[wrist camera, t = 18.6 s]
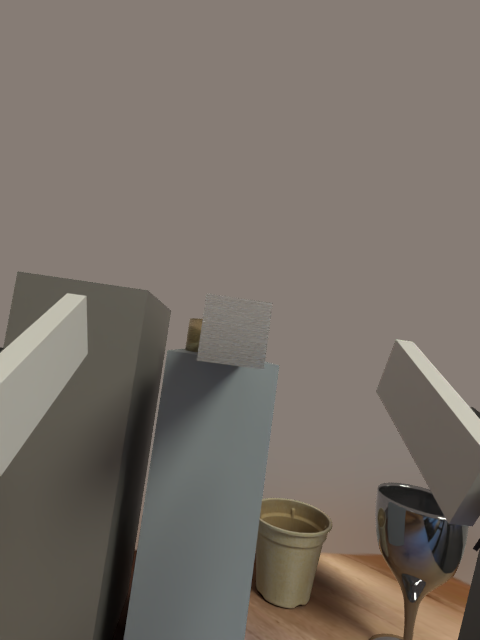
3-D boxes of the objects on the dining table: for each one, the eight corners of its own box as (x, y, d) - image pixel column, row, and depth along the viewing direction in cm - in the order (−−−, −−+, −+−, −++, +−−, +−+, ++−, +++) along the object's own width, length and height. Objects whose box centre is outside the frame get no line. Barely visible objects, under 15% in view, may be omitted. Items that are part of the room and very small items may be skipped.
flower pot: (236, 564, 47) (245, 494, 48) (307, 568, 48) (315, 500, 49) (249, 619, 38) (260, 530, 38) (337, 622, 39) (346, 536, 40)
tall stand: (-70, 737, 24) (17, 271, 26) (39, 585, 38) (88, 298, 41) (75, 746, 24) (147, 290, 26) (127, 593, 39) (170, 310, 41)
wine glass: (350, 665, 34) (368, 494, 35) (372, 619, 40) (387, 477, 41) (451, 724, 29) (467, 526, 30) (457, 662, 36) (470, 501, 37)
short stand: (106, 749, 24) (167, 350, 26) (147, 595, 39) (183, 349, 41) (229, 757, 25) (279, 365, 27) (222, 602, 40) (255, 358, 42)
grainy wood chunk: (151, 354, 16) (161, 287, 17) (187, 349, 39) (192, 321, 39) (307, 375, 17) (316, 309, 17) (253, 358, 40) (257, 330, 40)
